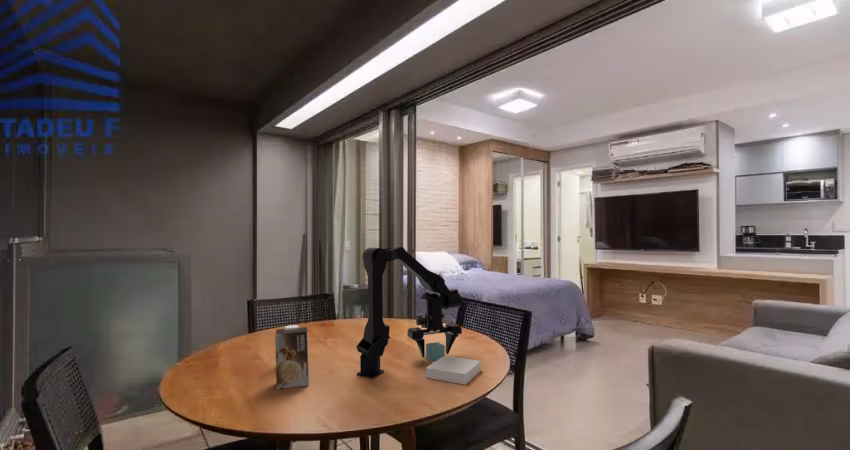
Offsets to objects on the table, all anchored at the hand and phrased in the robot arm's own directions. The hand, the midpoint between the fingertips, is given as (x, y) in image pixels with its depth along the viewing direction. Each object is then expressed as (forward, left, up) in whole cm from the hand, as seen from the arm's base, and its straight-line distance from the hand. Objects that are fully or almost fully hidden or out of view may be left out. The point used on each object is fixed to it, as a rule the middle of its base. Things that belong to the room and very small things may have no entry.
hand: (435, 355), depth 139 cm
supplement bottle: (-26, +42, -1) cm, 49 cm away
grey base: (-11, -12, -1) cm, 16 cm away
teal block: (0, 0, -1) cm, 1 cm away
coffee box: (-39, +28, -1) cm, 48 cm away
